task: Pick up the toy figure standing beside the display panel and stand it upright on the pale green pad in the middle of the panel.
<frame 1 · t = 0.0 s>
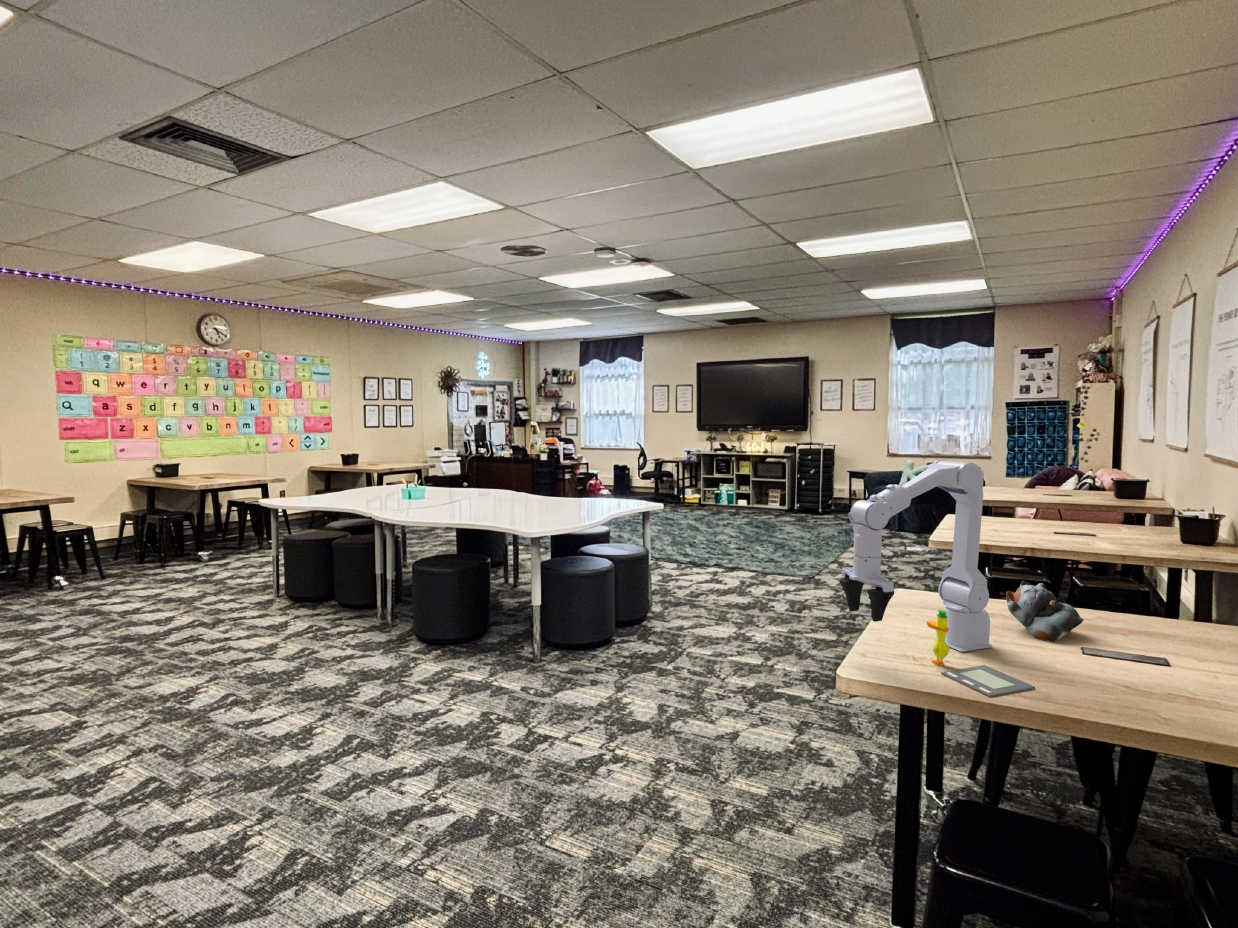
hand: (865, 615, 148), 10 cm above the table, tool pointing down, fingers open, 7 cm apart
lucky cat figurine: (1041, 633, 167), on the table
toy figure: (937, 663, 147), on the table
display panel: (986, 681, 138), on the table
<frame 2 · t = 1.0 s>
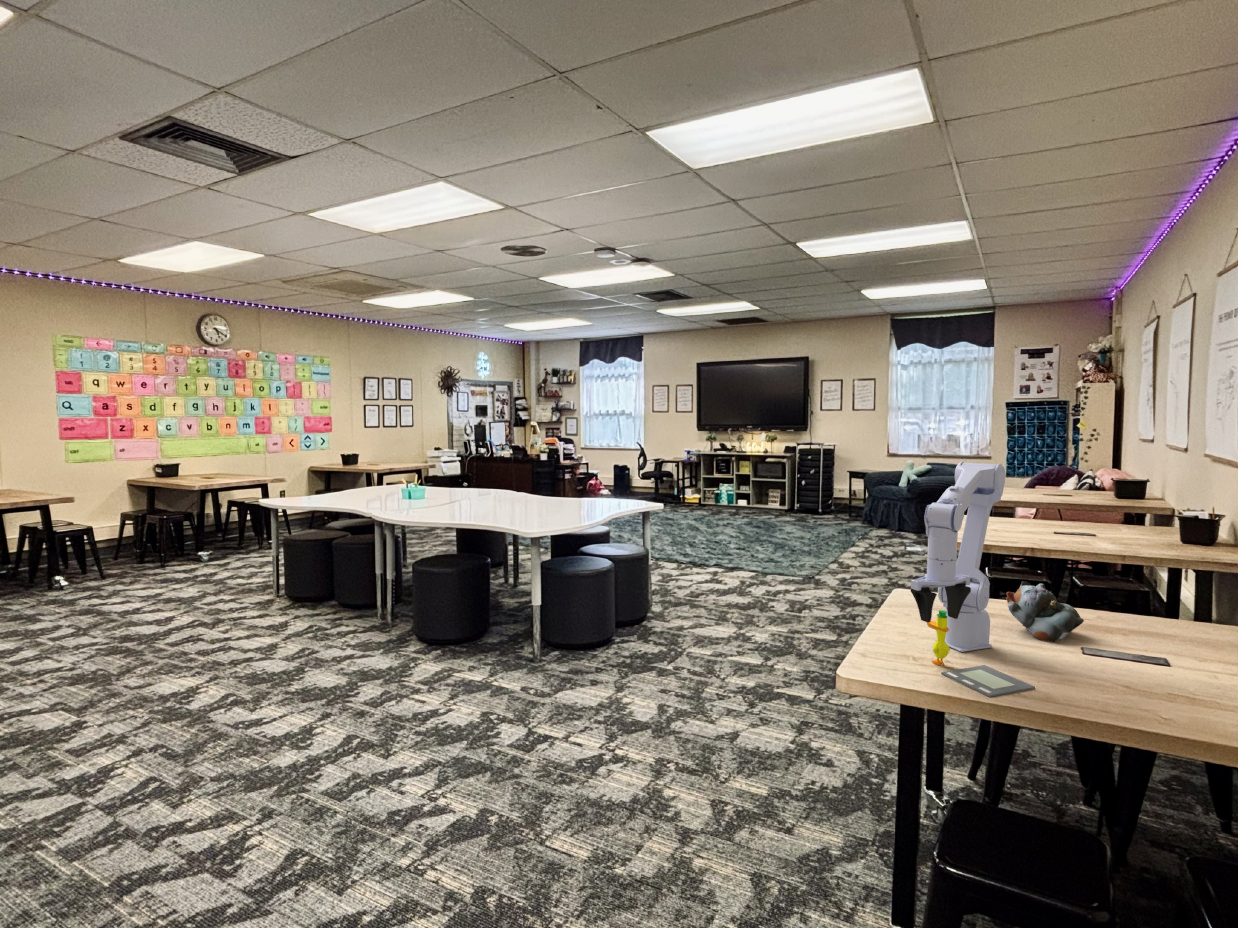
hand: (939, 619, 146), 10 cm above the table, tool pointing down, fingers open, 7 cm apart
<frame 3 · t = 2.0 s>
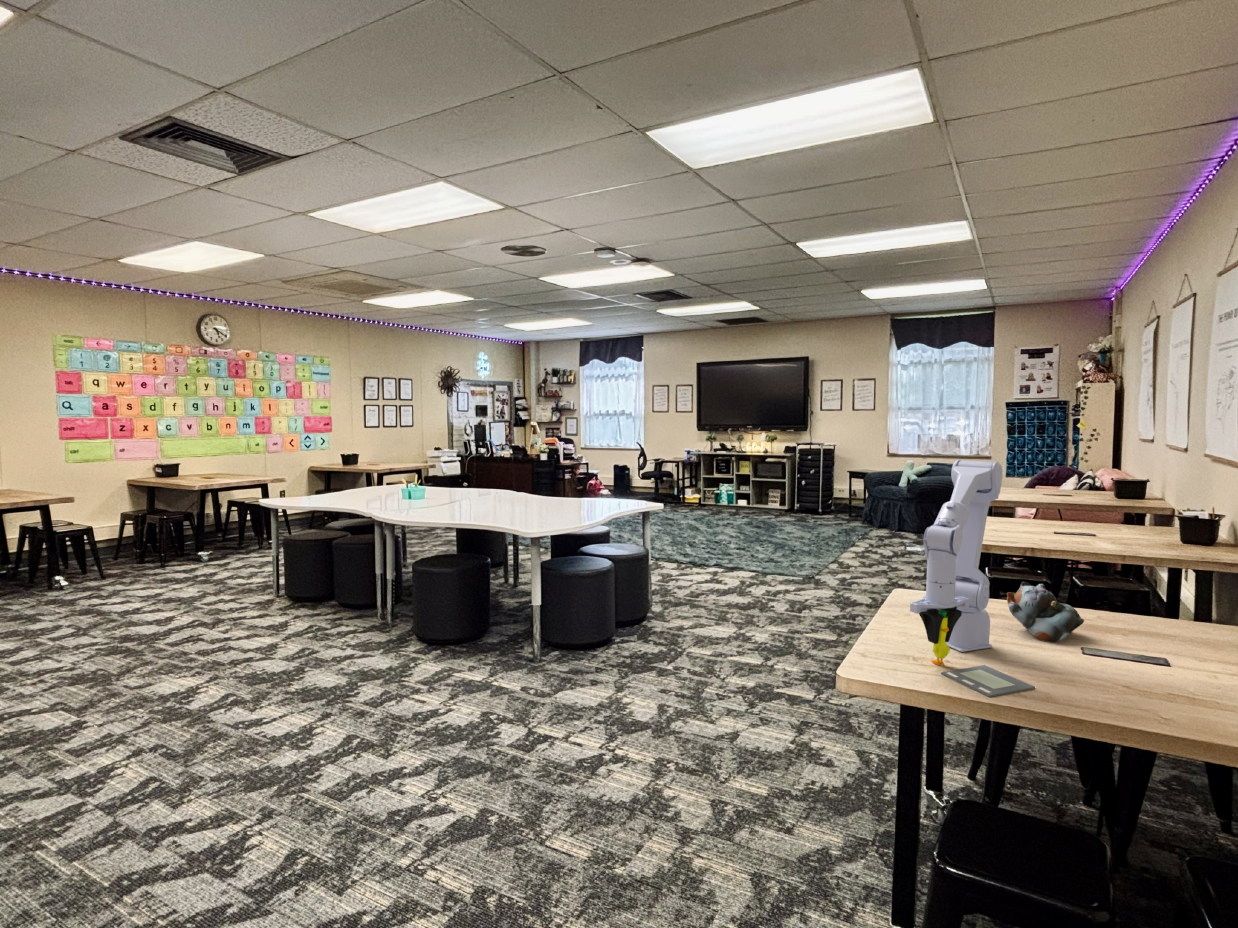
hand: (938, 641, 147), 5 cm above the table, tool pointing down, fingers closed on toy figure, 2 cm apart
toy figure: (937, 663, 147), on the table, touching gripper
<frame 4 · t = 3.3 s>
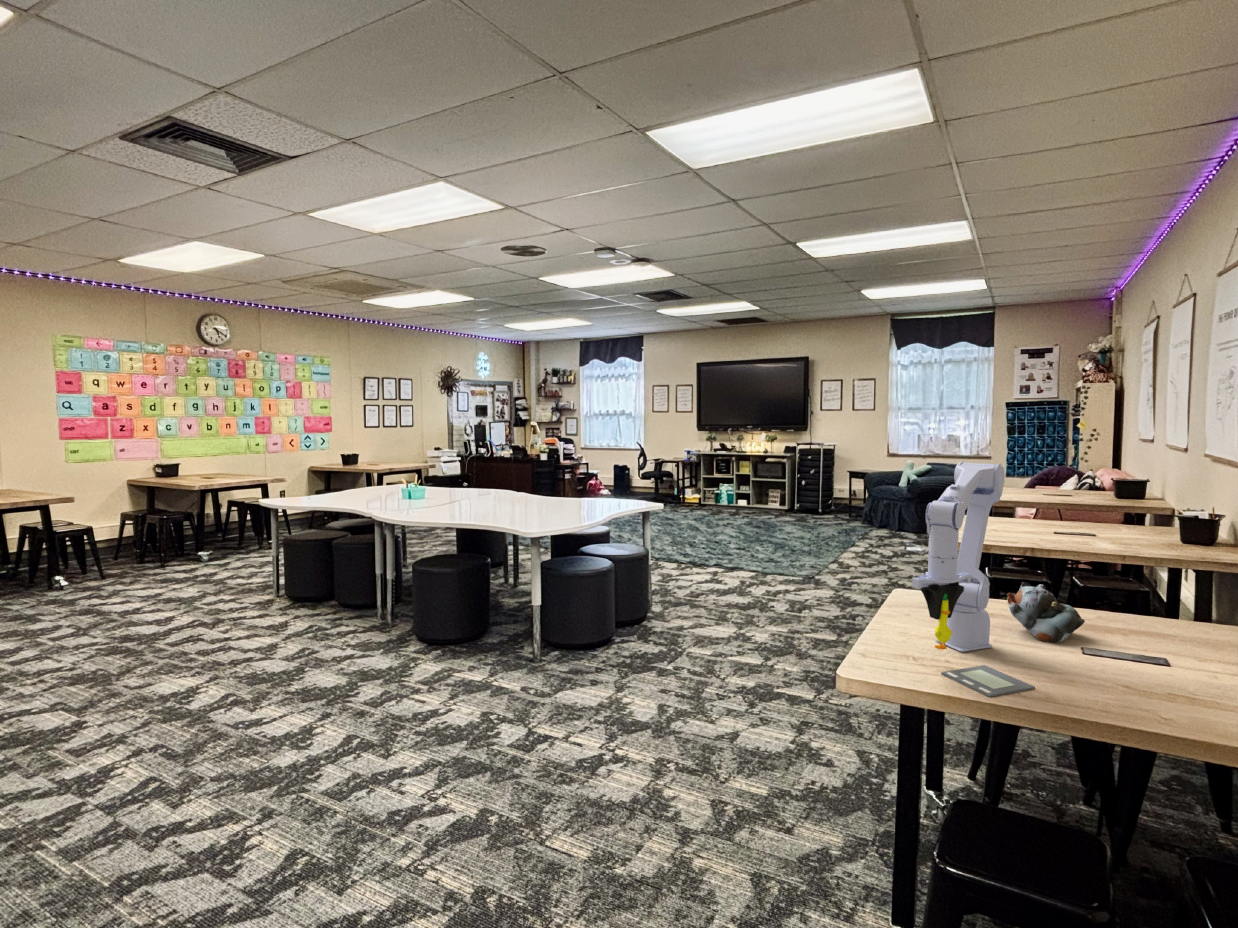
hand: (940, 617, 146), 10 cm above the table, tool pointing down, fingers closed on toy figure, 3 cm apart
toy figure: (940, 648, 146), point 4 cm above the table, touching gripper
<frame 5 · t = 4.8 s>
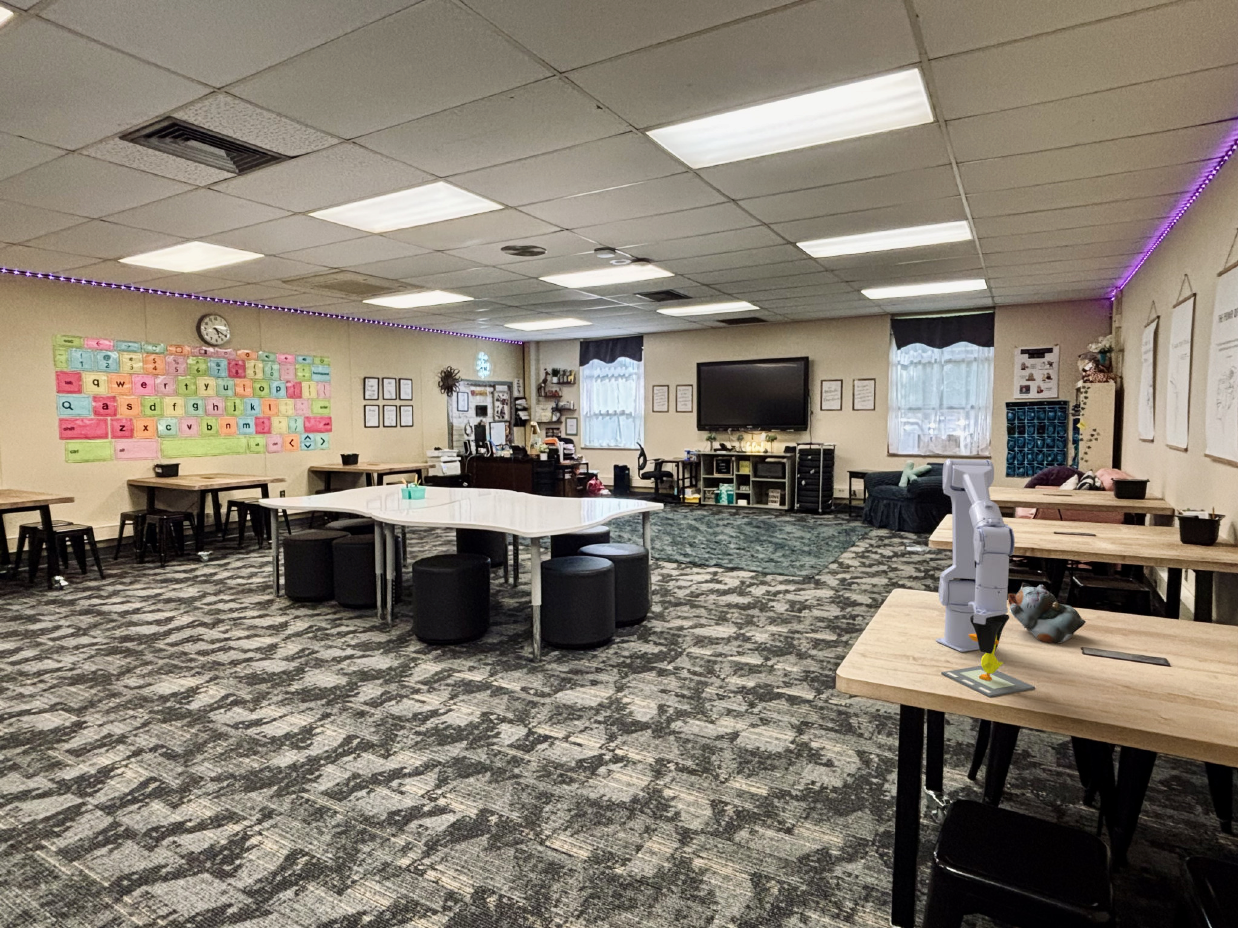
hand: (988, 650, 137), 7 cm above the table, tool pointing down, fingers closed on toy figure, 2 cm apart
toy figure: (984, 679, 138), resting on display panel, touching gripper
when the fingers open (7 cm above the table, at t = 5.0 s): toy figure stays where it is, resting on display panel.
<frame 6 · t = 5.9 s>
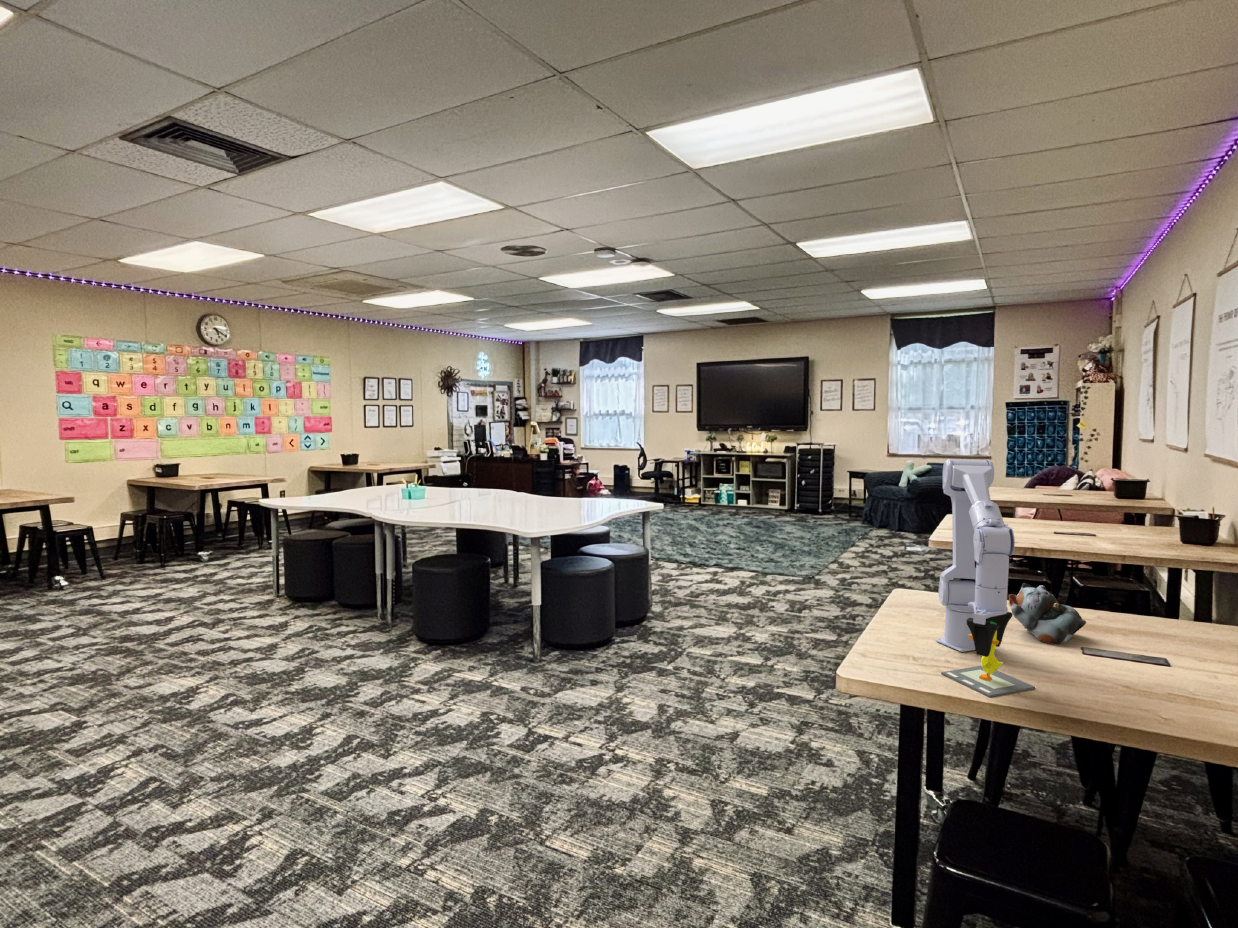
hand: (988, 650, 137), 7 cm above the table, tool pointing down, fingers open, 7 cm apart
toy figure: (984, 679, 138), resting on display panel
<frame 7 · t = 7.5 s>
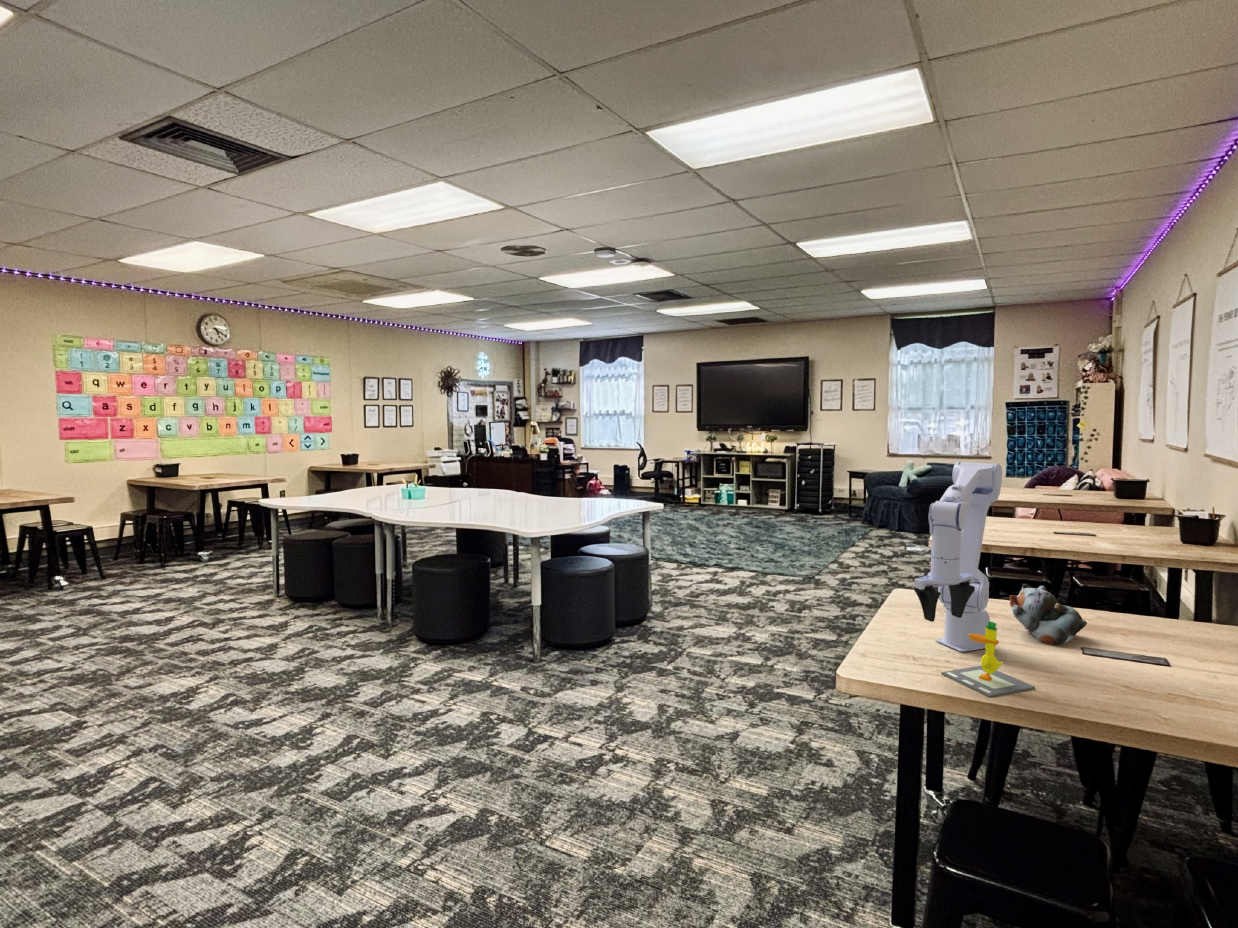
hand: (943, 618, 146), 10 cm above the table, tool pointing down, fingers open, 7 cm apart
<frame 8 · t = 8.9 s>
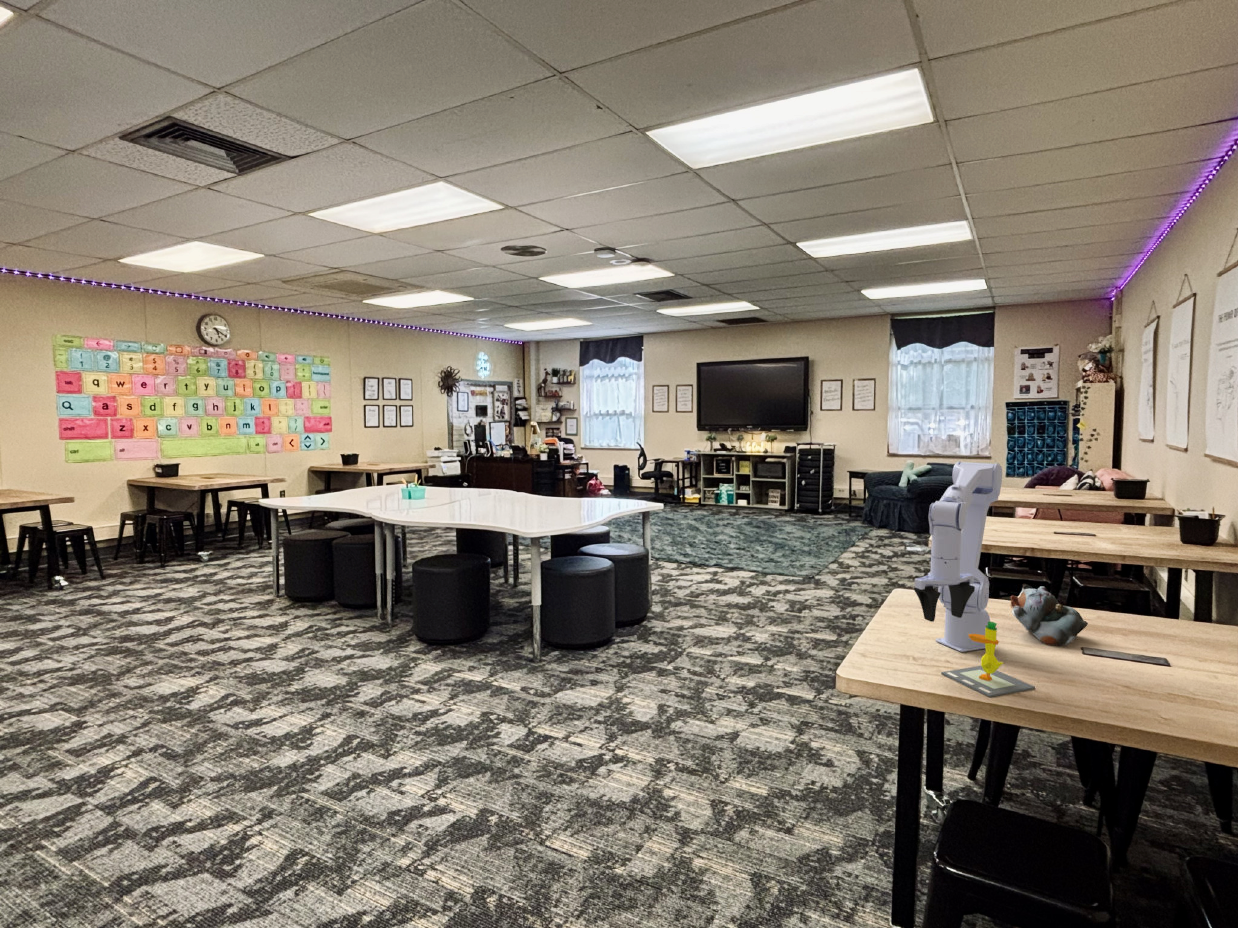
hand: (943, 618, 146), 10 cm above the table, tool pointing down, fingers open, 7 cm apart
at the end: toy figure 0.4 cm off-centre on the display panel, point 0.3 cm above the display panel's base; toy figure tilted 0°; the gripper is holding nothing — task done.
